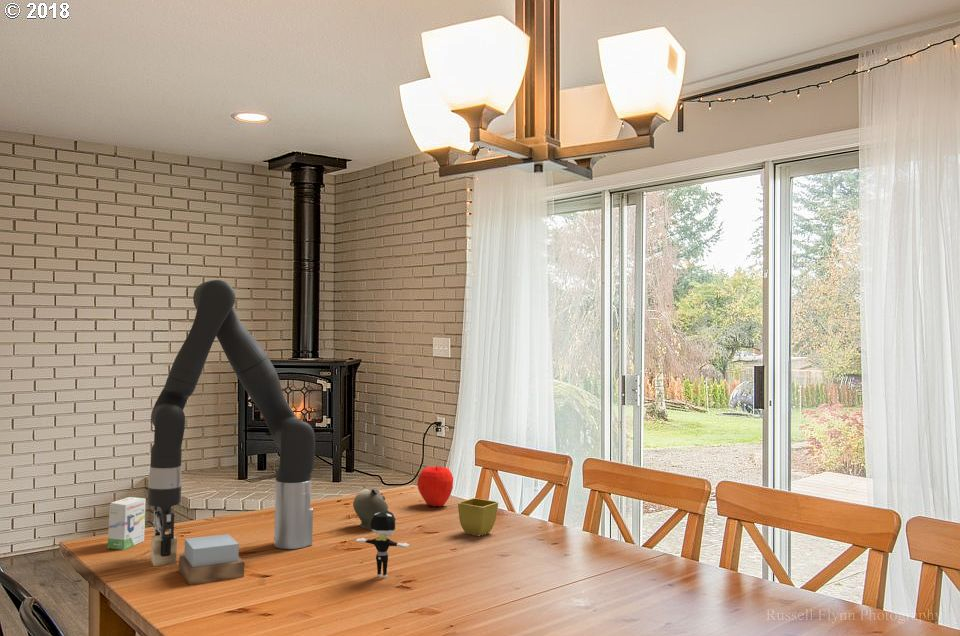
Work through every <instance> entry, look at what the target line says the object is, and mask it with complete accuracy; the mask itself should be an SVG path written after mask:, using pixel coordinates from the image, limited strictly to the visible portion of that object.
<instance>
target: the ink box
mask: <svg viewBox="0 0 960 636" xmlns="http://www.w3.org/2000/svg"><path fill="white" fill-rule="evenodd" d="M146 499H147V498H143V497H142V498H141V497H137V496H136V497H135V496H128V497H125V498H121V499H118V500H115V501H112V502H111V503H110V504H109V512H108V513H109V514H108V515H109V516H108V518H109V519H108V531H107V533H108V534H107V549H110V548H111V550H120V551H121V550H123V551H125V550H126V549H129V548H131V547H133V546H136V545H139V544H140V543H142V542H144V541H145V524H146V501H147V500H146Z"/></svg>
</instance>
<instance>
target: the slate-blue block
mask: <svg viewBox="0 0 960 636" xmlns="http://www.w3.org/2000/svg"><path fill="white" fill-rule="evenodd" d="M239 546H240V544H239V542H238V541H237V540H235V539H234V538H233V536H231V534H229V533H225V534H216V535H215V534H214V535H209V536H208V535H206V536H199V537H189V538H185V539H184V554H183V555H184V556H185V557H186V559H187V560H188V561H189V563H190V564H191V565H192V567H199V566H206V565H214V564H222V563H229V562H237V561H238V556H239V555H240V554H239V551H240V547H239Z"/></svg>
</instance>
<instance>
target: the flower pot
mask: <svg viewBox="0 0 960 636" xmlns="http://www.w3.org/2000/svg"><path fill="white" fill-rule="evenodd" d="M457 508H458V519H459V522H460V526H461V528H462V530H463V532H464V533H465V534H466V533H469V534H468V535H471V534H474V535H473V536H476V535H482V536H484V535H483V534H485V533H487V534H489V533H490V532H491V530H492V529H493V527H494V525H495V523H496V519H497V514H498V509H499V502H498V501H495V500H489V499H481V498H476V497H472V498H469V499H465V500H463V501H459V502H457ZM488 532H489V533H488ZM485 535H486V534H485Z"/></svg>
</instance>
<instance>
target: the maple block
mask: <svg viewBox="0 0 960 636" xmlns="http://www.w3.org/2000/svg"><path fill="white" fill-rule="evenodd" d="M150 540H151V543H150V544H151V548H150V562H151V564H152V566H154V567H157V566H165V565H172V564H177V553H178V552H177V550H178V549H177V548H178V547H177V544H178V543H177V542H178V538H177V537H176V536H175V534H174V538H173V539H172V540H171V554H170V555H169V556H164V557H162V556H161V555H160V548H161V539H160V535H158V536H155V535H152V536H151V539H150Z"/></svg>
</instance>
